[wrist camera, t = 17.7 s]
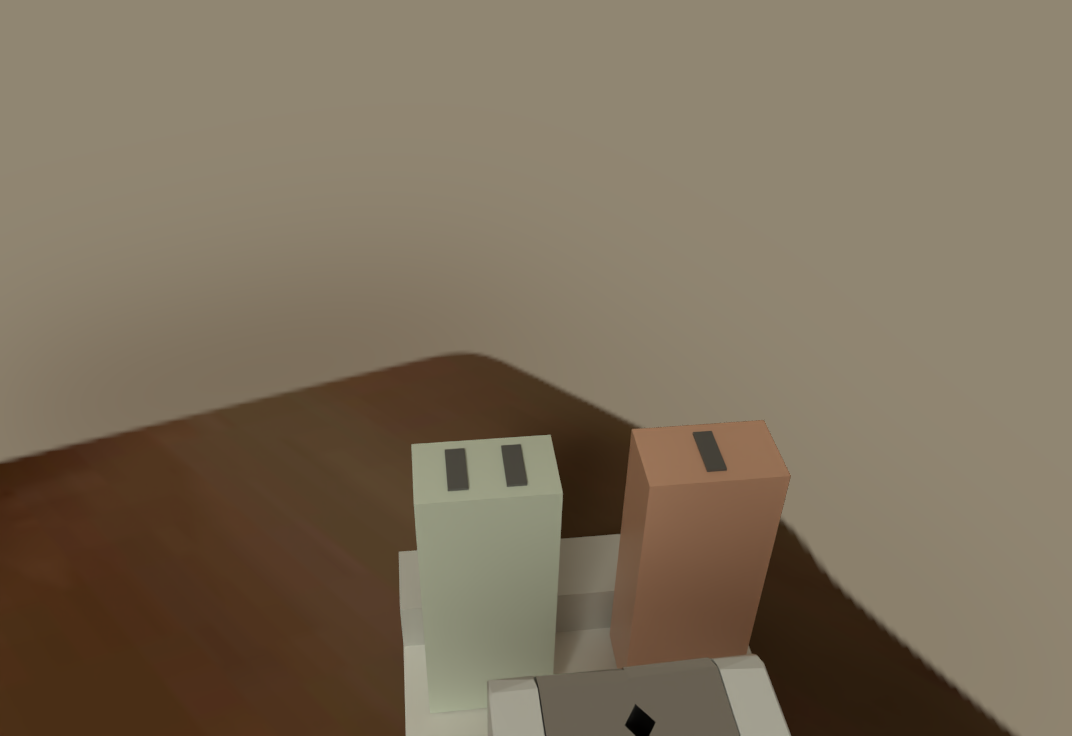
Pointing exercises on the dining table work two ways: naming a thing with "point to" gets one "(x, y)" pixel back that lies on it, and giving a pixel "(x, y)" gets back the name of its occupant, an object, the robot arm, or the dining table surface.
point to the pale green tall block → (486, 563)
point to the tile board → (576, 636)
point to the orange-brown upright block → (695, 540)
